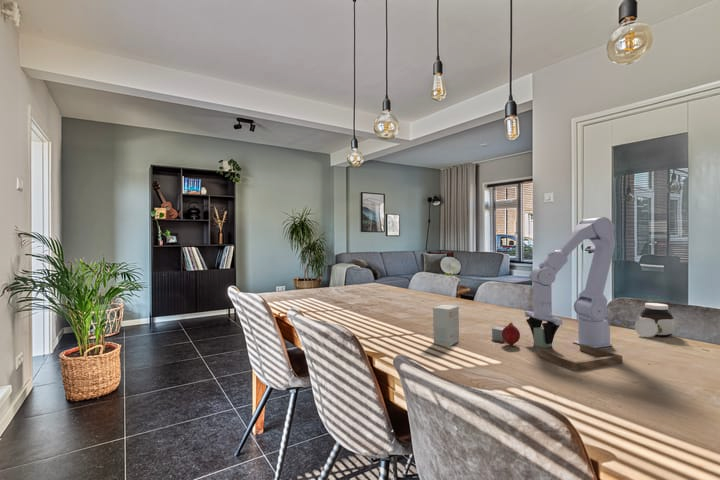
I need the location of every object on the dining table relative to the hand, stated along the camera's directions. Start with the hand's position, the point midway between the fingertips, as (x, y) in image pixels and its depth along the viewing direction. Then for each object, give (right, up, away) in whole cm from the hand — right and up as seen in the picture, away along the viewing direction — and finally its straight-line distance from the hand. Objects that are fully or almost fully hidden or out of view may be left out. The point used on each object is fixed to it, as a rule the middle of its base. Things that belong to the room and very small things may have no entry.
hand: (542, 341), depth 126 cm
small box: (-32, -2, +5) cm, 33 cm away
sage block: (0, -2, 0) cm, 2 cm away
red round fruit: (-11, -2, +1) cm, 11 cm away
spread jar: (+47, -1, +11) cm, 48 cm away
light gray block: (-11, -2, +9) cm, 14 cm away
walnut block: (+4, -1, -14) cm, 15 cm away
